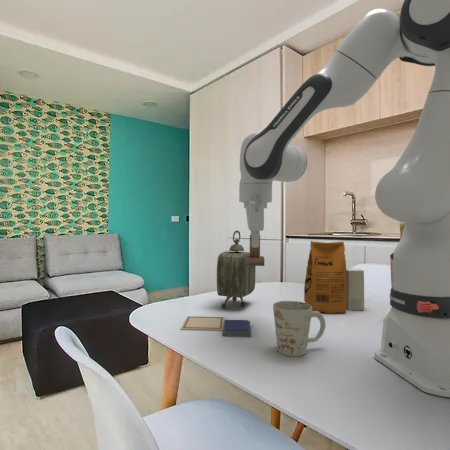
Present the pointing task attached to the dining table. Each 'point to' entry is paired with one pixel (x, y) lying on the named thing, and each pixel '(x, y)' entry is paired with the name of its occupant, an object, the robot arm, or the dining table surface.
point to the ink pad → (236, 328)
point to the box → (354, 289)
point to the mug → (295, 326)
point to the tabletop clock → (234, 274)
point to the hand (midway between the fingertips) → (254, 246)
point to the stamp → (254, 256)
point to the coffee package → (326, 278)
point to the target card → (203, 323)
